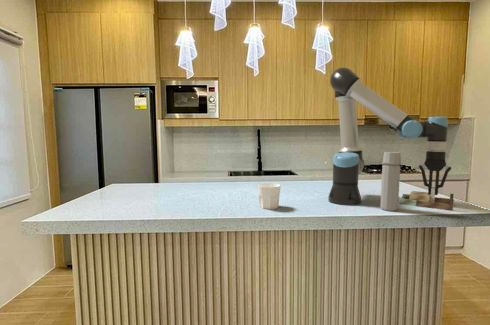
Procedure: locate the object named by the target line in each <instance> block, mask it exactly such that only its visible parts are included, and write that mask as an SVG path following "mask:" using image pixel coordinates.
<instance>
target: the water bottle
mask: <svg viewBox="0 0 490 325" xmlns="http://www.w3.org/2000/svg"><path fill="white" fill-rule="evenodd" d="M401 154H402V153H401V152H398V151H384V152H383V158H382V162H381V164H382V169H381V185H380V186H381V189H380V203H379V204H380V205H379V208H380V209H381V210H383V211H386V212H388V211H389V212H396V211H398V210H399V198H400V196H399V195H400V194H399V193H400V179H401V178H400V177H401V165H402V158H401V157H402V155H401Z"/></svg>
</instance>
